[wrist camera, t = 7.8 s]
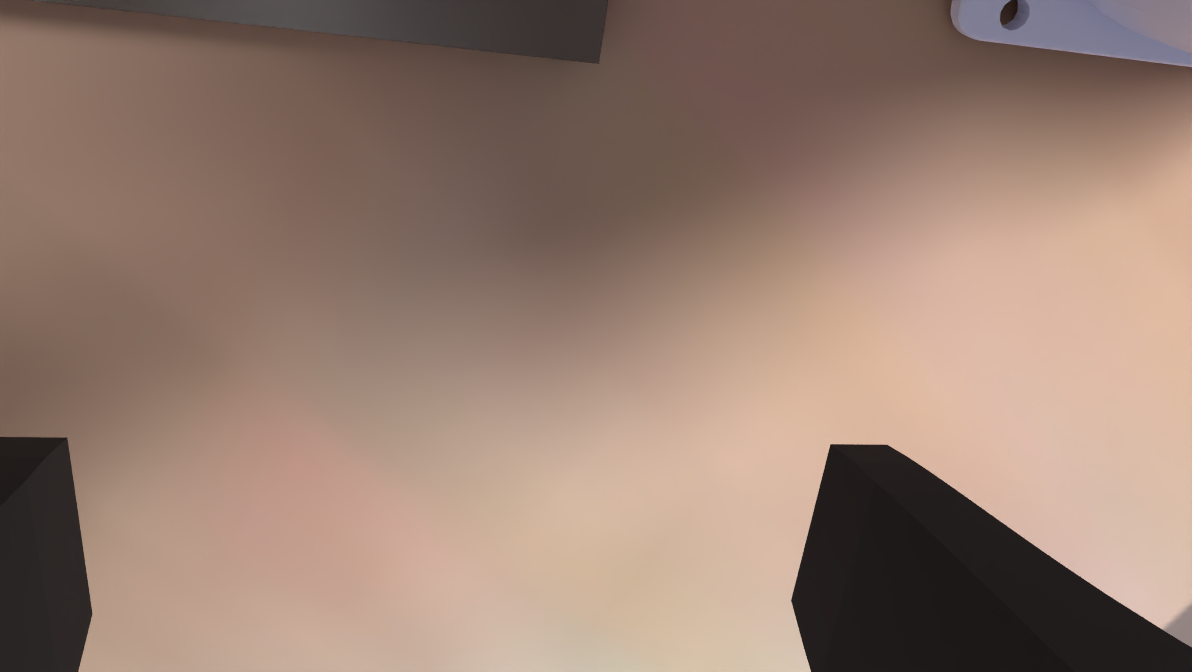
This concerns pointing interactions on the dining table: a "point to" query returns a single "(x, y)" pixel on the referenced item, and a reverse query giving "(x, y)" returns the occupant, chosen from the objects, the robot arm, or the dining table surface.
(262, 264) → the dining table surface
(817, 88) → the dining table surface
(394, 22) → the base
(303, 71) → the dining table surface
